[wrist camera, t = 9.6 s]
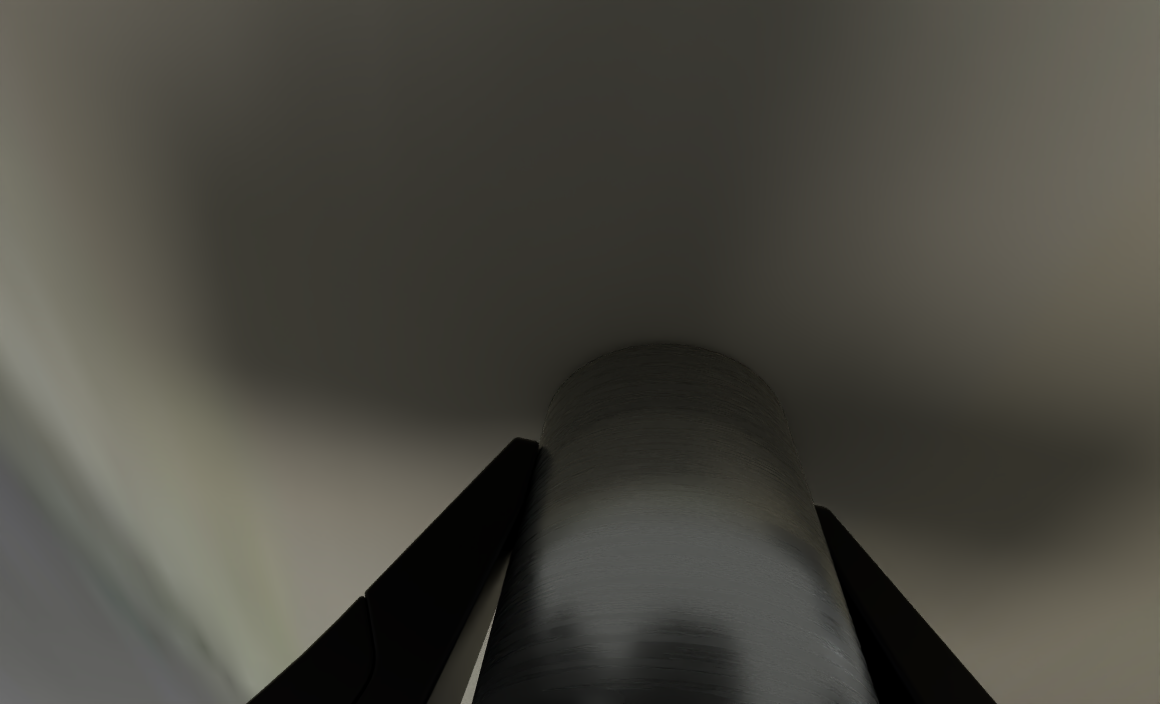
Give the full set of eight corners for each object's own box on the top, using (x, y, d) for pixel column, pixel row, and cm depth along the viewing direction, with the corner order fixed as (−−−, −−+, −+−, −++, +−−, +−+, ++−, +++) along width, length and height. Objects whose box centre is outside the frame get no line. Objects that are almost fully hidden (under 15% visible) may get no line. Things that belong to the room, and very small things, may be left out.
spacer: (733, 537, 11) (785, 873, 6) (531, 492, 10) (453, 800, 6) (833, 378, 8) (1022, 761, 4) (566, 317, 8) (476, 644, 4)
